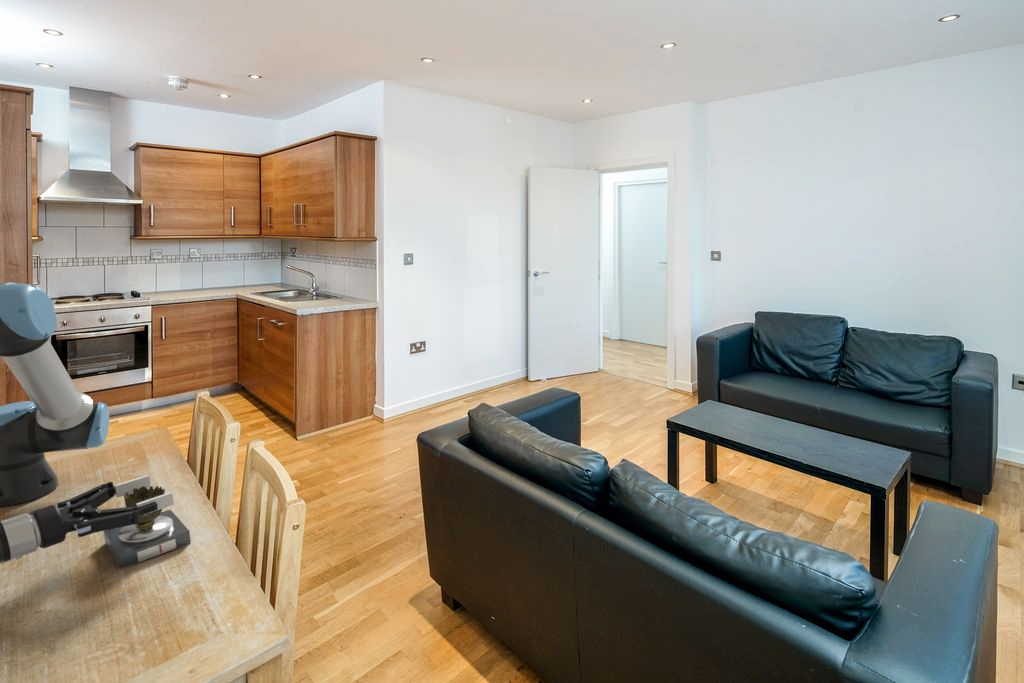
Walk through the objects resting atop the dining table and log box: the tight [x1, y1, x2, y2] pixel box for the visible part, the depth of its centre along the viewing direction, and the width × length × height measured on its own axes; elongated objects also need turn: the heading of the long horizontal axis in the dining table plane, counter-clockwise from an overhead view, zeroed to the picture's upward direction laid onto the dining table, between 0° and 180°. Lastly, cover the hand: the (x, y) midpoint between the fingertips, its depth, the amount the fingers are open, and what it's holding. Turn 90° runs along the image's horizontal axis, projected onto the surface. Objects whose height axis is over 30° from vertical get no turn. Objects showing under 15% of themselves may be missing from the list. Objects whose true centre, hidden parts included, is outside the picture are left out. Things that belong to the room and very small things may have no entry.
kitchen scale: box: [102, 509, 191, 569], centre depth 120 cm, size 14×13×4 cm
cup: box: [123, 485, 166, 529], centre depth 120 cm, size 8×7×8 cm
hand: (160, 489), depth 121 cm, fingers open, 12 cm apart
